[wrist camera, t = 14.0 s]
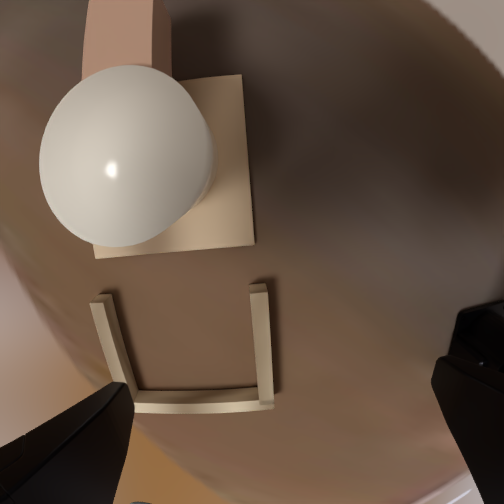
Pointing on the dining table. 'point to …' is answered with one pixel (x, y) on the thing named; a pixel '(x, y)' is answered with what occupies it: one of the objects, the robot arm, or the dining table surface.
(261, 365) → the beige u-shaped bar frame
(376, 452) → the dining table surface
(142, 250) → the coaster
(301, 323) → the dining table surface
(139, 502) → the cup
